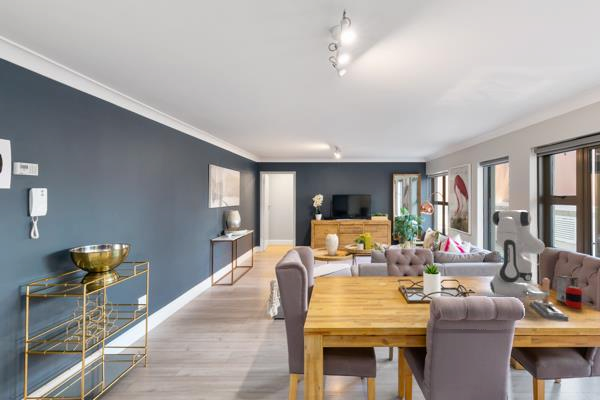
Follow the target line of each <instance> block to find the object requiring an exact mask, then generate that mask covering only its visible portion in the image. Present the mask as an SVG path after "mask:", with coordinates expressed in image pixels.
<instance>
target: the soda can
mask: <svg viewBox="0 0 600 400" xmlns="http://www.w3.org/2000/svg"><path fill="white" fill-rule="evenodd" d="M582 293H583V291H582V289H581V288H580V287H578V286H577V287H574V286H568V287H567V288H566V302H564V303H565V306H566V307H568V308H569V307H570V308H572V309H573V308H574V309H581V308H582V302H583V301H582V299H583V298H582V297H583V296H582V295H583V294H582Z"/></svg>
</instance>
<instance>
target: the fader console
mask: <svg viewBox="0 0 600 400" xmlns="http://www.w3.org/2000/svg"><path fill="white" fill-rule="evenodd" d="M538 301H541V299H538V300H537V299H533V301H529V305H530V307H532V309H534V310H535V311H536V312H537V313H539V314H540V315H541V316H542V317H543V318H546V319H552V320H559V321H560V320H562V321H569V316H568V315H567V314H565V313H563V312H562V311H561V310H560V309H558V308H557V307H556V306H554V305H553V306H549V305H548V306H549V308H547V307H546V306H544V305H540V304H539V303H538Z"/></svg>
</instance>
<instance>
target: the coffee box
mask: <svg viewBox="0 0 600 400" xmlns="http://www.w3.org/2000/svg"><path fill="white" fill-rule="evenodd" d="M556 277H557V279H556V283H557V284H556V300H557V301H560V302H563V303H565V302H566V288H567V287H568V286H574V287H578V283H579V282H578V277H576V276H570V275H557V276H556Z"/></svg>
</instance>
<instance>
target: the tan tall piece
mask: <svg viewBox="0 0 600 400" xmlns="http://www.w3.org/2000/svg"><path fill="white" fill-rule="evenodd" d="M550 283H551V280H550V279H549V278H547V277H544V278H542V289H543V292H545V291H546V292H549V293H550ZM538 303H539V304H540V305H544V306H546V307H547V308H549V306H554V303H553V302H551V301H550V295H545V299H542V300H540V301H538ZM548 305H549V306H548Z"/></svg>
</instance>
